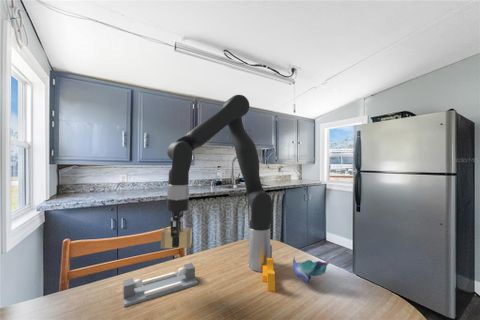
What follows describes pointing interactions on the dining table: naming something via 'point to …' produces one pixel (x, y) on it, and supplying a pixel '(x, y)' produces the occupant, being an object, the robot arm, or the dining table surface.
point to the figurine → (309, 269)
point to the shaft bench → (158, 285)
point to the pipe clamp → (269, 274)
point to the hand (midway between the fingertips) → (176, 244)
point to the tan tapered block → (184, 238)
